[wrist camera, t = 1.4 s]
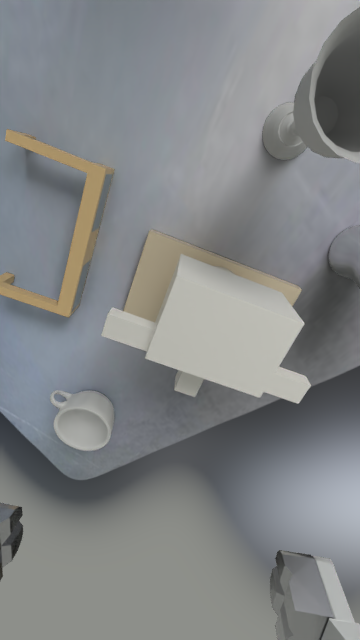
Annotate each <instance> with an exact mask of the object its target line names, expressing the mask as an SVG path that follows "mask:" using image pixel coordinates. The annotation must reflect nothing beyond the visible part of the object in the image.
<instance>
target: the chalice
mask: <svg viewBox="0 0 360 640" xmlns="http://www.w3.org/2000/svg"><path fill="white" fill-rule="evenodd" d="M262 138H263V143H264V146H265V148H266V150H267V152H268V153H269V154H271V155H272V156H273V157H275V158H277V159H280V160H289V159H292V158H295V157H297V156H298V155H300V154H301V153H303V151H304V150H305V149H306V148H307V147H308V148H310V149H311V150H312V151H313V152H315V153H317V154H319V155H322V156H324V157H328V158H346V159H348V160H350V161H353V162H355V163H360V7H359V8H358V9H357V10H355V11H354V12H352V13H351V14H350V15H348V16H347V17H346V18H344V19H343V20H342V21H341V22H340V23H339V24H338V26H337V27H336V28H335V30H334V31H333V32H332V34H331V35H330V36H329V37H328V39H327V40H326V41H325V43H324V44H323V46H322V49H321V51H320V54H319V56H318V59H317V61H316V62H315V63H314V64H313V65H312V66H311V67H310V69H309V70H308V71H307V73H306V74H305V75H304V76H303V78H302V80H301V82H300V85H299V87H298V89H297V92H296V94H295V100H294V103H285V104H282V105H279V106H278V107H277V108H275V109H274V110H273V111H272V112H271V113H270V114H269V116H268V117H267V119H266V121H265V124H264V126H263V133H262Z"/></svg>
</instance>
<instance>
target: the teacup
mask: <svg viewBox="0 0 360 640" xmlns="http://www.w3.org/2000/svg"><path fill="white" fill-rule="evenodd" d="M55 394H60V395H62V396H63V397H65V398H66V401H64V402H57V401H56V400H55V399H54V395H55ZM50 401H51V403H52V404H53V405H54V406H55V407H57V408H59V413H58V414H57V416H56V417H55V420H54V429H55V432H56V434H57V436H58V437H59V438H60V439H61V440H62V441H63V442H64V443H65V444H67V445H68V446H70V447H72V448H75V449H78V450H83V451H93V450H98V449H100V448H102V447H104V446H105V445H106V444H107V443H108V441H109V439H110V436H111V433H112V429H113V425H114V418H115V415H114V408H113V405H112V403H111V401H110V400H109V399H108V398H107V397H106V396H105V395H103V394H102V393H99V392H97V391H91V390H88V391H82V392H79V393H76V394H70V393H67V392H64V391H59V390H56V391H54V392H53V393H52V394H51V396H50Z"/></svg>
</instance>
